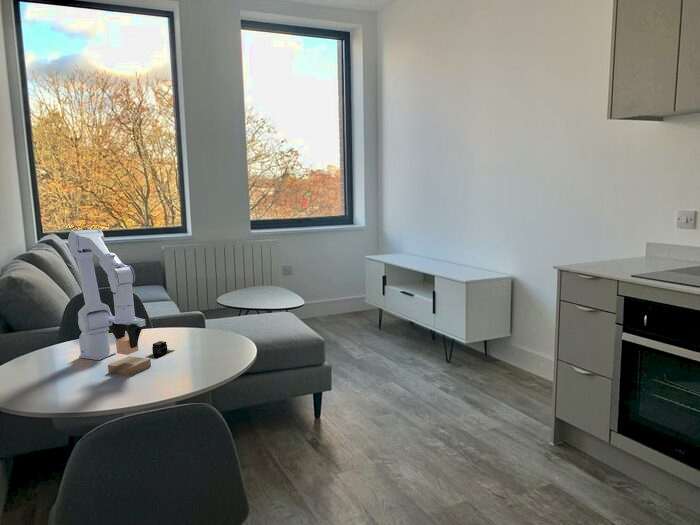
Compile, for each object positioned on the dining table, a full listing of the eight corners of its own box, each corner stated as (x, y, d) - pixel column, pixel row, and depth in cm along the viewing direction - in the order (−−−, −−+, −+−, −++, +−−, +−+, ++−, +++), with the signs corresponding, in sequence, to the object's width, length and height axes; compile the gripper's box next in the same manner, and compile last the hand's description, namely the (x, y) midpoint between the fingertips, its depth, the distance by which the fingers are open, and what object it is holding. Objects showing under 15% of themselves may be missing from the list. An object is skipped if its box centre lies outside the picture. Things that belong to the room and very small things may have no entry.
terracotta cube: (117, 353, 172) (115, 339, 171) (128, 348, 176) (126, 335, 175) (127, 354, 170) (126, 341, 169) (138, 350, 174) (137, 337, 173)
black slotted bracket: (156, 362, 182) (155, 349, 181) (139, 359, 185) (138, 347, 184) (180, 350, 194) (179, 338, 193) (163, 349, 196) (162, 336, 196)
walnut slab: (108, 374, 172) (107, 365, 171) (130, 364, 180) (129, 356, 179) (130, 377, 168) (129, 368, 168) (151, 367, 176) (150, 359, 176)
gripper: (96, 306, 170) (101, 347, 172) (132, 309, 164) (135, 352, 166) (114, 301, 176) (118, 341, 178) (148, 304, 170) (152, 345, 173)
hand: (127, 346), depth 173 cm, fingers closed on terracotta cube, 5 cm apart
